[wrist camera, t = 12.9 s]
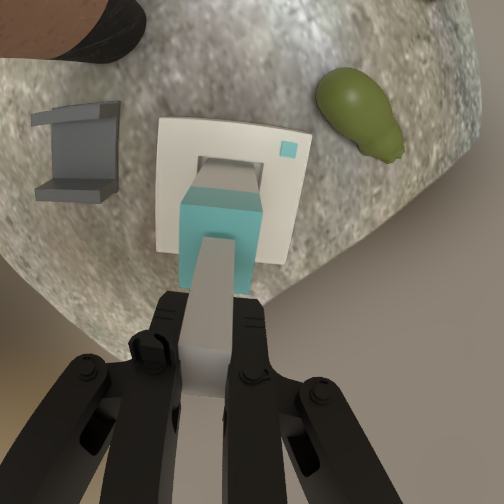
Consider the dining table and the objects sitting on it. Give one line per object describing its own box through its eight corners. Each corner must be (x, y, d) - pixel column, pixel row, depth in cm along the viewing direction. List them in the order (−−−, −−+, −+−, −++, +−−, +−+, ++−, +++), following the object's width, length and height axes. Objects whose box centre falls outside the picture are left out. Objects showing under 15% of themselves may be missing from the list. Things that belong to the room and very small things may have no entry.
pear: (366, 54, 15) (428, 144, 19) (334, 56, 19) (394, 129, 24) (318, 101, 16) (390, 185, 21) (294, 96, 21) (361, 165, 26)
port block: (164, 235, 27) (155, 253, 24) (169, 116, 21) (157, 118, 18) (280, 248, 29) (285, 267, 25) (303, 131, 23) (313, 135, 20)
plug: (203, 209, 26) (178, 287, 15) (208, 157, 23) (179, 203, 13) (245, 213, 26) (249, 294, 16) (253, 162, 24) (263, 212, 13)
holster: (57, 188, 24) (36, 202, 20) (55, 107, 19) (31, 111, 16) (118, 191, 25) (100, 205, 21) (120, 101, 20) (100, 101, 17)
